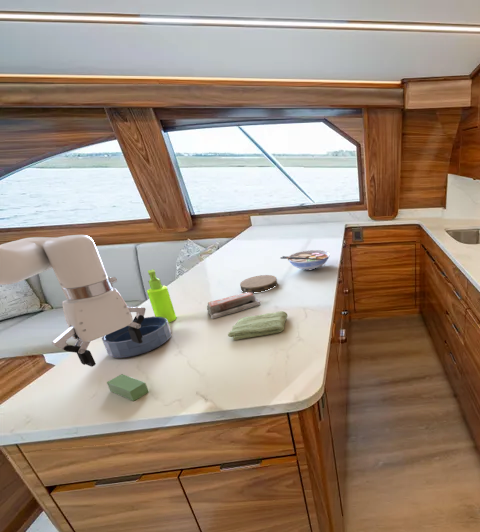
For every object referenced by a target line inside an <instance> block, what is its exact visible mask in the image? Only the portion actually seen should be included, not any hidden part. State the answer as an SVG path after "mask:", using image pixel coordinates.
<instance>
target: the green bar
mask: <svg viewBox="0 0 480 532" xmlns="http://www.w3.org/2000/svg"><path fill="white" fill-rule="evenodd" d="M106 386H107V387H108V389H109V392H110V393H113V394H116V395H118V396H119V397H120V396H121V397H123V398H125V399H128V400H130V401H133V402H135V401H137V400H138V399H140V398H141V397H143V396H145V395H146V394H148V393H149V389H148V386H147V384H146V382H144V381H143V380H139V379H137V378H133V377H131V376H128V375H125V374H123V373H121V374H119V375H117V376H115V377H114V378H112V379H110V380H108V381H106Z"/></svg>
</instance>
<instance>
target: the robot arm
mask: <svg viewBox="0 0 480 532" xmlns="http://www.w3.org/2000/svg"><path fill="white" fill-rule="evenodd" d="M95 243H96V242H94V239H93V238H92V236H91V237H90V236H89V235H86V234H71V235H64V236H58V237H47V236H31V237H24V238H20V239H17V240H12V241H9V242H4V243H1V244H0V285H1V286H6V285H14V284H18V283H20V282H22V281H26V280H27V279H29V278H32V277H34V276H36V275H39V274H42V273H44V272H47V271H50V270H53V272H54V274H55V276H56V278H57V281H58V283H59V286H60V287H61V289H62V292H63V294H64V296H65V298H66V299H65V300H62V310H63V315H64V319H65V322H66V325H67V329H65V331H64V332H62V333H61V334H60V335H58V337H56V338H55V339H53V341H52V342H51V345H53V346H54V347H56V348H58V349H60V350H62V351H65V352H70V353H75V354H76V355H77V358H78V359H79V361H80V363H81V364H82V365H84V366H85V365H86V366H89V367H91V368H93V367H94V366H96V361H95V359H94V357H93V354H92V353H91V351H90V350H88V347H89V345H90V343H91V342H93V341H95V340H98V339H101V338H102V337H103V336H105V335H108V334H110V333H112V332H115V331H117V330H119V329H122V328H124V327H126V326H129V328H128V331H129V334H130V336H131V339H132V341H133V342H136V343H142V339H141V338H142V334H141V331H140V329H139V328H140V327H141V323H142V321H143V319H144V318H145V314H146V308H145V307H143V306H128V304H127V303H126V301H125V299H124V297H123V296H122V295H121V294H120V293H121V292H119V291H118V289H117V288H116V287H113V286H114V283H117V282H118V280H117V278H116V276H112V277H109V276H108V274H107V271H106V269H105V266H104V263H103V260H102V258H101V256H100V254H99V253H100V252H99V250H98V248H97V246H96V244H95ZM132 313H135V314H136V315H135V317H134V318H133V315H132ZM71 338H72V339H74V340H76V341H74V344H73V345H71V344H69V343H67V341H68V340H69V339H71Z"/></svg>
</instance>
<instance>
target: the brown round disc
mask: <svg viewBox="0 0 480 532" xmlns="http://www.w3.org/2000/svg"><path fill="white" fill-rule="evenodd" d="M276 284H277V285H278V280H277V276H275V275H271V274H263V275H261V274H260V275H256V276H251V277H248V278H246V279H244V280H241V282H240V283H239V286H240V290H242V291H243V292H242V291H241V292H242V293H244V292H251V293H253V294H255V293H254V292H261V291H265V290H268V289H270V288H273V287H274V286H276ZM276 287H277V286H276ZM274 288H275V287H274ZM274 288H273V289H274ZM268 291H269V290H268ZM265 292H266V291H265ZM261 293H262V292H261Z"/></svg>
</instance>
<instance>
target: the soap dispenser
mask: <svg viewBox="0 0 480 532" xmlns="http://www.w3.org/2000/svg"><path fill="white" fill-rule="evenodd" d="M147 273H148V275H149V278H150V279H149V280H148V281H147V282H148V285H149V289H147V290H146V293H147V296H148V299H149V302H150V305H151V308H152V311H153V314H154V317H164V318H166V319H167V320H168V323H171V322H174V321H176V319H177V315H176V312H175V309H174V305H173V303H172V298H171V295H170V292H169V290H168V286H166V285H163V284H162V281H161V278H159V277H157V275H156V270H155V269H154V268H153V269H149V270H147Z"/></svg>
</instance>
